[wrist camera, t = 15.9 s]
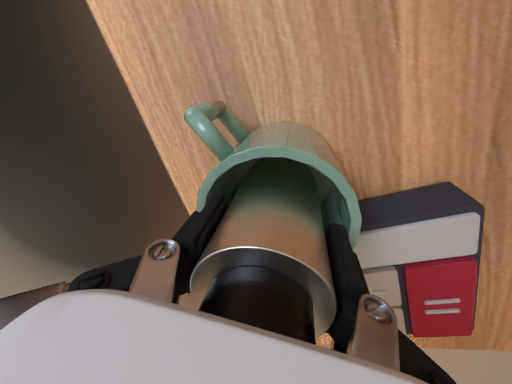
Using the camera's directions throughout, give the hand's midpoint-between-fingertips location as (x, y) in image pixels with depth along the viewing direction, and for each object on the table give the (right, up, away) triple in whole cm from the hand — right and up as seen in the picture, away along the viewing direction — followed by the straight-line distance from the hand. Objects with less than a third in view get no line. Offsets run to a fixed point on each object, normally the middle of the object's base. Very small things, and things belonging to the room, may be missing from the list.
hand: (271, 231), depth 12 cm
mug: (+1, +5, +7) cm, 9 cm away
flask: (+1, +2, +5) cm, 6 cm away
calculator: (+12, -5, +10) cm, 16 cm away
